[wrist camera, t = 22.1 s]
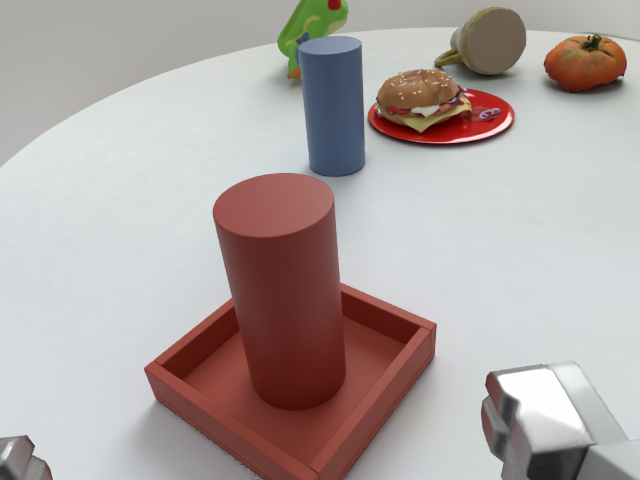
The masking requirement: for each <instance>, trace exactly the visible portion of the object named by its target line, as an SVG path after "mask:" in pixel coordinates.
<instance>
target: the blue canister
mask: <svg viewBox="0 0 640 480" xmlns="http://www.w3.org/2000/svg"><path fill="white" fill-rule="evenodd" d="M298 50H299V60H300V70H301V80H302V90H303V100H304V110H305V120H306V130H307V141H308V151H309V161H310V167H311V169H312V170H313V171H314V172H316V173H318V174H321V175H325V176H343V175H348V174H352V173H354V172H357V171H358V170H360V169H361V168H362V167H363V166H364V164H365V139H364V107H363V75H362V43H361V41H360V40H358V39H356V38H352V37H346V36H329V37H321V38H316V39H312V40H308V41H306V42H304V43H302V44H301V45H300V46H299V47H298Z"/></svg>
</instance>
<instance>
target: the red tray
mask: <svg viewBox="0 0 640 480" xmlns="http://www.w3.org/2000/svg"><path fill="white" fill-rule="evenodd" d="M340 289H341V303H342V317H343V330H344V344H345V358H346V375H345V379H344V381H343V384H342V385H341V387H340V389H339V390H338V391H337V392H336V394H334V395H333V396H332V397H331V398H330V399H329V400H327V401H326V402H324V403H322V404H320V405H318V406H315V407H312V408H309V409H304V410H285V409H280V408H277V407H274V406H272V405H270V404H268V403H267V402H265V401H264V400H263V399H261V398H260V396H259V395H258V394H257V393H256V391H255V389H254V387H253V384H252V380H251V376H250V371H249V367H248V363H247V359H246V354H245V350H244V346H243V341H242V337H241V333H240V329H239V324H238V320H237V316H236V312H235V307H234V303H233V299H232V298H231V299H230V300H229V301H227V302H226V303H225V304H224V305H222V306H221V307H220V308H219V309H217V310H216V311H215V312H214V313H212V314H211V315H210V316H209V317H207V318H206V319H205V320H204V321H202V322H201V323H200V324H199V325H197V326H196V327H195V328H193V329H192V330H191V331H190V332H188V333H187V334H186V335H185V336H183V337H182V338H181V339H180V340H178V341H177V342H176V343H175V344H173V345H172V346H171V347H170V348H168V349H167V350H166V351H165V352H163V353H162V354H161V355H160V356H158V357H157V358H156V359H155V360H154V361H152V362H151V363H150V364H148V365H147V366H146V367H145V368H144V370H145V373H146V375H147V378H148V380H149V383H150V385H151V388H152V390H153V392H154V395H155V398H156V399H157V400H158V401H160V402H161V403H162V404H164V405H165V406H166V407H168V408H169V409H171V410H172V411H173V412H175V413H176V414H177V415H179V416H180V417H181V418H183V419H184V420H185V421H187V422H188V423H189V424H191V425H192V426H193V427H195V428H196V429H197V430H199V431H200V432H201V433H203V434H204V435H205V436H207V437H208V438H209V439H211V440H212V441H213V442H215V443H216V444H217V445H219V446H220V447H221V448H223V449H224V450H226V451H227V452H228V453H230V454H231V455H232V456H234V457H235V458H236V459H238V460H239V461H240V462H242V463H243V464H244V465H246V466H247V467H248V468H250V469H251V470H252V471H254V472H255V473H256V474H258V475H259V476H260V477H262V478H263V479H264V480H342V479H343V478H344V476H345V475H346V474H347V472H348V471H349V470H350V468H351V467H352V466H353V464H354V463H355V462H356V460H357V459H358V457H359V456H360V455H361V453H362V452H363V451H364V449H365V448H366V447H367V445H368V444H369V443H370V441H371V440H372V439H373V437H374V436H375V435H376V433H377V432H378V431H379V429H380V428H381V427H382V425H383V424H384V423H385V421H386V420H387V419H388V417H389V416H390V414H391V413H392V412H393V410H394V409H395V408H396V406H397V405H398V404H399V402H400V401H401V400H402V398H403V397H404V396H405V394H406V393H407V392H408V390H409V389H410V388H411V386H412V385H413V384H414V382H415V381H416V380H417V378H418V377H419V376H420V374H421V373H422V372H423V370H424V369H425V367H426V366H427V365H428V363H429V362H430V361H431V359H432V358H433V357H434V355H435V341H436V327H437V324H436V323H433V322H431V321H429V320H426V319H424V318H422V317H419V316H417V315H415V314H412V313H410V312H408V311H405V310H403V309H401V308H398V307H396V306H394V305H391V304H389V303H387V302H384V301H382V300H380V299H377V298H375V297H373V296H370V295H368V294H366V293H364V292H361V291H359V290H357V289H354V288H352V287H350V286H347V285H345V284H343V283H340Z"/></svg>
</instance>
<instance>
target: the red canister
mask: <svg viewBox="0 0 640 480" xmlns="http://www.w3.org/2000/svg"><path fill="white" fill-rule="evenodd" d="M213 218H214V222H215V226H216V230H217V235H218V239H219V243H220V248H221V252H222V256H223V260H224V265H225V269H226V273H227V277H228V282H229V286H230V290H231V295H232V299H233V303H234V307H235V312H236V316H237V320H238V324H239V329H240V333H241V337H242V341H243V346H244V350H245V354H246V359H247V363H248V367H249V371H250V376H251V380H252V384H253V387H254V389H255V391H256V393H257V394H258V395H259V396H260V398H261V399H263V400H264V401H265V402H267V403H268V404H270V405H272V406H274V407H277V408H280V409H285V410H304V409H309V408H312V407H315V406H318V405H320V404H322V403H324V402H326V401H327V400H329V399H330V398H331V397H332V396H333V395H334V394H336V392H337V391H338V390H339V389H340V387H341V385H342V384H343V381H344V379H345V375H346V358H345V344H344V330H343V317H342V303H341V289H340V275H339V262H338V248H337V234H336V221H335V207H334V196H333V193H332V191H331V190H330V188H329V187H328V186H327V185H326V184H325V183H323V182H322V181H320V180H318V179H316V178H313V177H310V176H307V175H302V174H294V173H276V174H267V175H262V176H257V177H254V178H250V179H247V180H245V181H242V182H240V183H238V184H236V185H234V186H232V187H231V188H229V189H227V190H226V191H225V192H224V193H223V194H222V195H221V196H220V197H219V198H218V199H217V200H216V202H215V204H214V207H213Z"/></svg>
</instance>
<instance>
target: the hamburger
mask: <svg viewBox="0 0 640 480" xmlns="http://www.w3.org/2000/svg"><path fill="white" fill-rule="evenodd" d="M451 78H453V77H450V76H449V75H447V73H445V72H442V71H440V70H435V69H433V70H413V71H410V70H408V71H406V72H404V73H401V72H400V74H399V73H398V74H397V75H396V76H394V77H392V78H388V80H386V81H385V83H384V84H383V86H382V87H381V88H380V90H379V92H378V96H377V97H376V100H377V102H376V103H375V104H374V105H373V106H372V107H371V108H370V110H369V112H368V119H369V121H370V123H371V124H372V125H373V126H374V127H375V128H376V129H378V130H379V131H381V132H383V133H385V134H387V135H390V136H393V137H396V138H400V139H404V140H409V141H415V142H423V143H458V142H467V141H473V140H477V139H482V138H485V137H488V136H491V135H494V134H496V133H498V132H500V131H502V130H504V129H505V128H507V127H508V126H509V125H510V124H511V123H512V121H513V119H514V110H513V108H512V107H511V106H510V105H509V104H508V103H507V102H506V101H504V100H502V99H501V98H499V97H497V96H494V95H491V94H489V93H485V92H482V91H477V90H472V89H465V88H464V87H462V86H460V85H458V84H455V82H454V81H453V80H452V79H451Z"/></svg>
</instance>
